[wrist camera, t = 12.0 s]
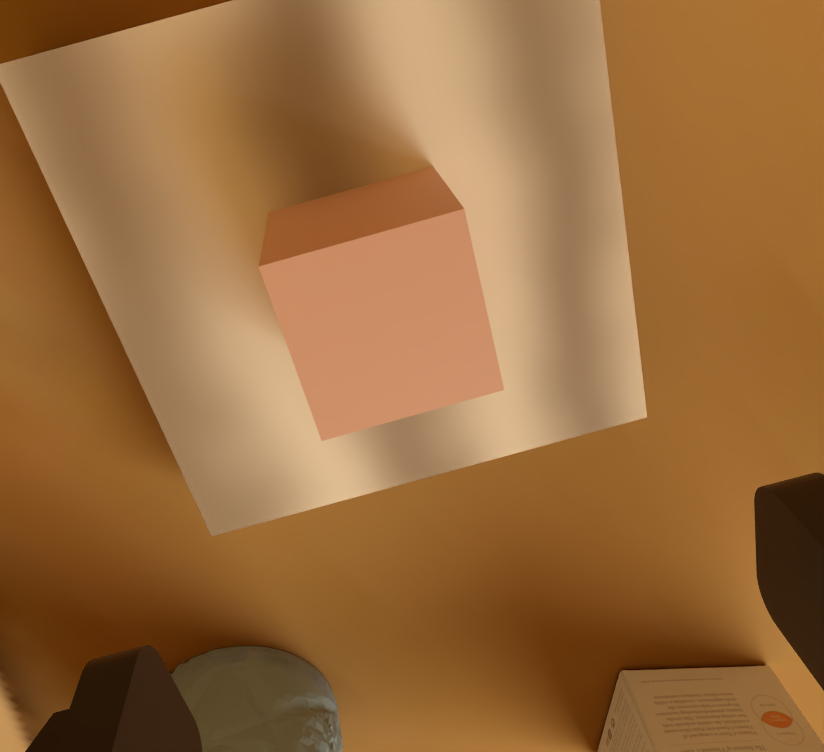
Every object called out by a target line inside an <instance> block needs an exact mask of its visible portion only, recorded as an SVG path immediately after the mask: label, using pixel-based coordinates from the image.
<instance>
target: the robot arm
mask: <svg viewBox="0 0 824 752" xmlns="http://www.w3.org/2000/svg"><path fill="white" fill-rule="evenodd" d="M754 504H755V535H756V565H757V580H758V585H759V589H760V592H761V595H762V598H763V601H764V603H765V606H766V608H767V610H768V612H769V614H770V616H771V618H772V619H773V621H774V622H775V624H776V625H777V627H778V628H779V630H780V631H781V632H782V634H783V635H784V637H785V638H786V639H787V641H788V642H789V643H790V645H791V646H792V648H793V649H794V650H795V652H796V653H797V654H798V656H799V657H800V659H801V660H802V661H803V663H804V664H805V665H806V667H807V668H808V670H809V671H810V672H811V674H812V675H813V676H814V678H815V679H816V681H817V682H818V683H819V685H820V686H821V687H822V689H823V690H824V475H823V474H821V473H812V474H808V475H804V476H800V477H796V478H793V479H789V480H785V481H781V482H777V483H773V484H770V485H766V486H762V487H759V488H758V489H757V490H756V493H755V500H754ZM25 752H202V744H201V738H200V733H199V730H198V726H197V724H196V721H195V719H194V717H193V715H192V713H191V712H190V710H189V708H188V706H187V704H186V702H185V701H184V699H183V697H182V695H181V693H180V691H179V690H178V688H177V686H176V684H175V682H174V681H173V679H172V677H171V675H170V673H169V671H168V670H167V668H166V666H165V664H164V662H163V660H162V659H161V657H160V655H159V654H158V652H157V651H156V650H155V648H153V647H152V646H149V645H148V646H143V647H139V648H135V649H131V650H127V651H123V652H120V653H116V654H112V655H108V656H104V657H101V658H97V659H93V660H91V661H89V662H88V663H87V664H86V666H85V668H84V670H83V672H82V674H81V677H80V680H79V683H78V686H77V689H76V692H75V695H74V698H73V701H72V704H71V706H70V709H67V710H63V711H60V712H56V713H53V715H52V716H51V718H50V719H49V720H48V722H47V723H46V724H45V726H44V727H43V728H42V730H41V731H40V732H39V734H38V735H37V736H36V738H35V739H34V741H33V742H32V743H31V745H30V746H29V747H28V749H27V750H26V751H25Z"/></svg>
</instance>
